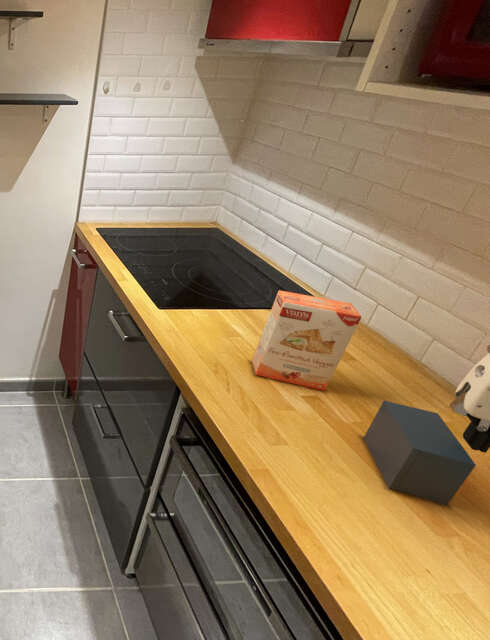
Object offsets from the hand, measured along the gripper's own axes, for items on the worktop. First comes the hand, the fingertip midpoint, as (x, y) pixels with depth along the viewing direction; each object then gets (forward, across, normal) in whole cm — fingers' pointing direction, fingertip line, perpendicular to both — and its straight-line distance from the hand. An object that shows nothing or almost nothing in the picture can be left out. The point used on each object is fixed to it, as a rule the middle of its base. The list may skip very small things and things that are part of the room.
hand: (473, 444), depth 77 cm
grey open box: (+10, -6, 0) cm, 11 cm away
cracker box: (+10, -20, +21) cm, 31 cm away
